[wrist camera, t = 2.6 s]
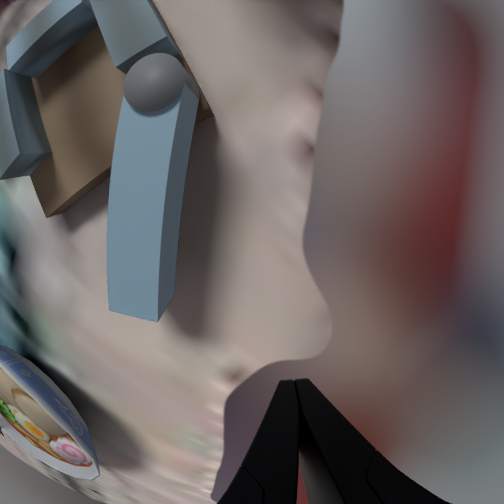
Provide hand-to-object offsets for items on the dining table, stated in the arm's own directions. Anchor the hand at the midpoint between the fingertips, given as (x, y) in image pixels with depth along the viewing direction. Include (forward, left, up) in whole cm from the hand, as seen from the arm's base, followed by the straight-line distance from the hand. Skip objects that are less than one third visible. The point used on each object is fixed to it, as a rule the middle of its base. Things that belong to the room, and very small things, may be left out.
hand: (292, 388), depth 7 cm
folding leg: (+4, -8, -10) cm, 13 cm away
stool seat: (+6, -17, -12) cm, 22 cm away
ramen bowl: (+33, +4, -12) cm, 36 cm away
